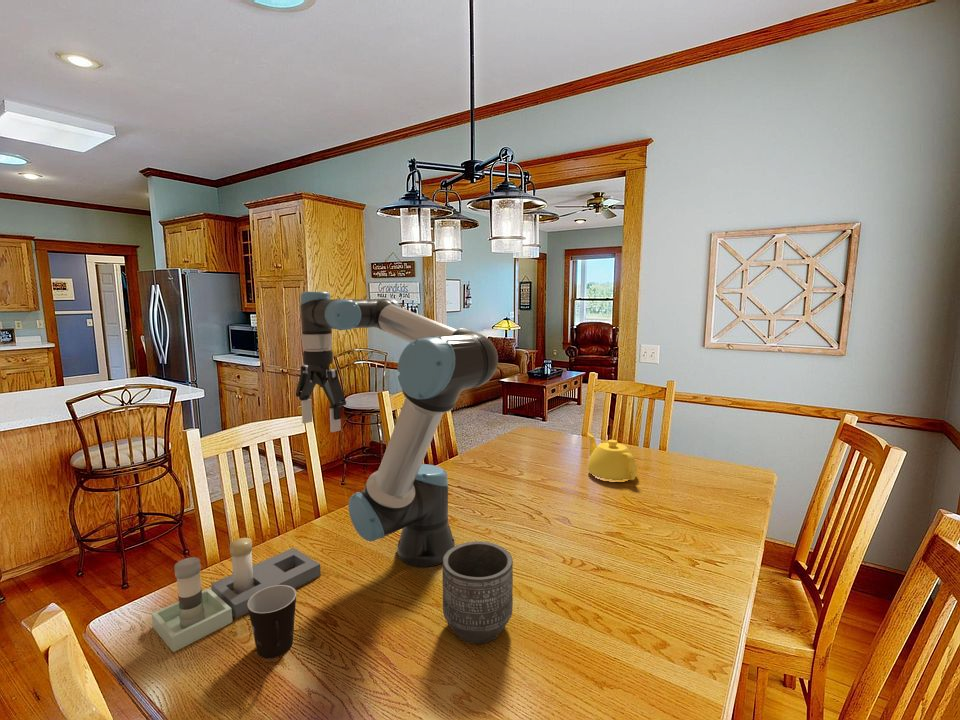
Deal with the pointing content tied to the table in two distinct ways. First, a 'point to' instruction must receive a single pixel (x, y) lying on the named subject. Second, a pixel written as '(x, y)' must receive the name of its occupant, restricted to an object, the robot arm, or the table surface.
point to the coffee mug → (273, 619)
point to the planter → (477, 590)
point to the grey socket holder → (261, 574)
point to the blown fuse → (189, 591)
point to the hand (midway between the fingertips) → (321, 426)
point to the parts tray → (177, 638)
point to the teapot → (611, 460)
